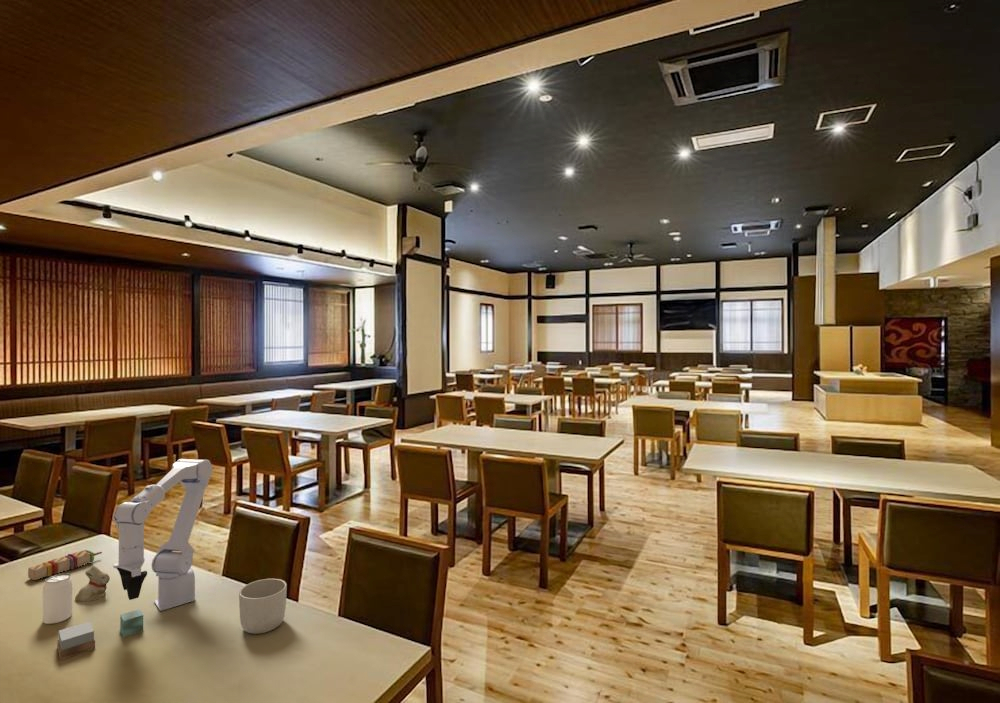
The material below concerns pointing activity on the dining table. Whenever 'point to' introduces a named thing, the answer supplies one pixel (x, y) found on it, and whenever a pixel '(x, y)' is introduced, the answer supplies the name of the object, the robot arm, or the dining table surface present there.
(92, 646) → the tower base
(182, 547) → the robot arm
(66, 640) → the tower top
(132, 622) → the teal block
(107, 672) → the dining table surface
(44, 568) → the skewer
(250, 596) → the planter
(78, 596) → the chocolate bunny
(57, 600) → the can
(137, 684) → the dining table surface
